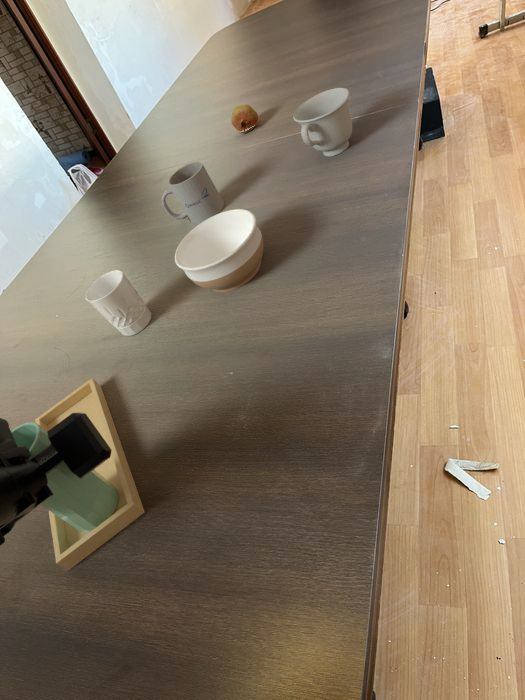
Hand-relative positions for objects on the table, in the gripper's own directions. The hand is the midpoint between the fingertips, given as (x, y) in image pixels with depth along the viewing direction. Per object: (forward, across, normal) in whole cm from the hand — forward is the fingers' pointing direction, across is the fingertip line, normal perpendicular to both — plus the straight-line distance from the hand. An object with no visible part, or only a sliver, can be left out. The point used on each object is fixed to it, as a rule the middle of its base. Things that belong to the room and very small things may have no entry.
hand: (55, 473), depth 61 cm
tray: (+12, 0, 0) cm, 12 cm away
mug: (+46, -41, -34) cm, 70 cm away
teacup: (+36, -70, -24) cm, 83 cm away
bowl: (+26, -37, -13) cm, 47 cm away
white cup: (+29, -16, -17) cm, 38 cm away
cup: (+4, 0, +6) cm, 8 cm away
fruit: (+64, -69, -52) cm, 108 cm away
